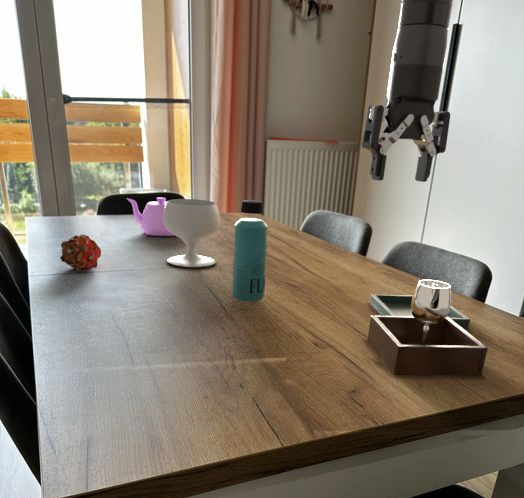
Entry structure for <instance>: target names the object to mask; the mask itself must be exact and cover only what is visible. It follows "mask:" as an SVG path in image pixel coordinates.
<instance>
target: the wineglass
mask: <svg viewBox="0 0 524 498" xmlns="http://www.w3.org/2000/svg"><path fill="white" fill-rule="evenodd" d="M412 295H413V297H412V301H411V313H412V315H413V317H414V318H415V319H416V320H418V321H419V322H421V323H423V324H425V326H424V327H423V329H422V333H423V338H422V343H420V345H426V344H425V339H426V337H427V334H428V332H429V326H428V325H433V324H437V323H440V322H442V321H443V320H445V319H446V317H447V316H448V313H449V311H450V306H452V288H451V285H450V284H449V283H447V282H443V281H441V280H434V279H422V280H419V281H418V283H417V285H416V287H415V290H414V292H413V294H412Z"/></svg>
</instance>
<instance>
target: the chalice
mask: <svg viewBox="0 0 524 498" xmlns="http://www.w3.org/2000/svg"><path fill="white" fill-rule="evenodd" d="M166 202H167V203H166V205H165V208H164V212H163V224H164V226H165V228H166V229H167V230H168V231H169V232H171V233H172V234H174V236H175V237H177V238H178V239H180V240H181V241H183V242H184V244H185V246H186V247H187V251H186V254H181V255H173V256H170V257H169V258H167V260H166V262H167V263H168V264H169V265H173V266H177V267H183V268H203V267H210V266H212V265H215V264H216V260H215V259H213V258H211V257H208V256H204V255H199V254H197V252H196V246H197V244H198V243H199V242H201V241H202V240H204V239H205V238H207V237H210V236H211V235H213V234H214V233H215V232H216V231H218V229H219V228H220V223H221V218H220V213H219V208H218V206H217V204H216V202H215V201H211V200H205V199H196V198H173V199H169V200H166Z"/></svg>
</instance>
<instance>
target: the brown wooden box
mask: <svg viewBox="0 0 524 498" xmlns="http://www.w3.org/2000/svg"><path fill="white" fill-rule="evenodd" d="M368 326H369V327H368V333H367V341H368V343H369V344H370V345H371V347H372V348H373V350H374V351H375V352H376V354H377V355H378V357H380V358H381V360H382V361H383V363H384V364H385V365H386V367H387V368H388V369H389V371H391V373H392V374H393V375H395V376H482V374H483V369H484V366H485V362H486V357H487V354H488V351H489V350H488V349H489V347H487V346H486V345H485V344H484V343H482V342H481V341H480V340H479V339H477V338H476V337H474V336H473V335H472V334H470V333H469V332H468V330H464V329H463V328H462V327H460V326H459V325H458V324H456V323H455V322H454V321H453V320H451V319H450V318H449V317H446V319H445V320H443V321H442V322H440V323H437V324H433V325H428V326H429V332H428V334H427V337H426V339H425V343H427V344H424V345H421V344H422V338H423V333H422V329H423V327H424V326H425V324H423V323H421V322H419V321H418V320H416V319H415V318H414V317H413V316H381V315H379V314H376V315H373V314H371V315H370V321H369V325H368ZM402 343H418V344H402ZM419 343H420V344H419ZM429 343H431V344H429ZM437 344H438V345H437Z"/></svg>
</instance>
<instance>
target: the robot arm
mask: <svg viewBox="0 0 524 498" xmlns="http://www.w3.org/2000/svg"><path fill="white" fill-rule="evenodd" d="M453 2H454V0H401V3H400V8H399V9H400V11H399V17H398V24H397V25H398V26H397V30H396V36H395V39H394V43H393V47H392V48H393V49H392V55H391V62H390V70H389V76H388V84H387V91H386V92H387V93H386V98H387V105H386V106H385V107H384V105H382V104H376V105H375V104H374V105H373V104H372V105H369V106H368V107H367V111H366V112H367V113H366V117H365V122H364V129H363V135H362V142H361V147H362V148H363V149H366V150H368V151H370V153H371V161H370V169H369V174H370V177H371V179H372V180H374V181H383V180H384V177H385V172H386V171H385V170H386V162H387V154H386V153H387V152H388V151H389V150H390V148H391V147H392V146H393V144H395V143H397V142H398V140H412V141H413V143H414V145H416V147H417V150H418V152H419V154H420V156H418V158H417V164H416V170H415V175H414V180H415V182H423V183H425V182H427V181H428V179H429V177H430V175H431V171H432V166H433V160H434V157H435V156H436V155H438V154H443V153H445V152H446V149H447V143H448V137H449V136H448V135H449V128H450V121H451V112H450V111H446V110H445V111H442V110H441V111H435V104H436V102H437V101H438V100H439V96H440V91H441V90H440V89H441V84H442V79H443V72H444V66H445V62H446V55H447V50H448V49H447V48H448V35H449V34H448V33H449V28H450V27H449V26H450V20H451V15H452V9H453V4H454V3H453ZM384 120H385V122H386V124H385V126H384V127H383V128H382V123H383V121H384ZM430 125H431V127H430ZM381 128H382V130H381Z"/></svg>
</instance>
